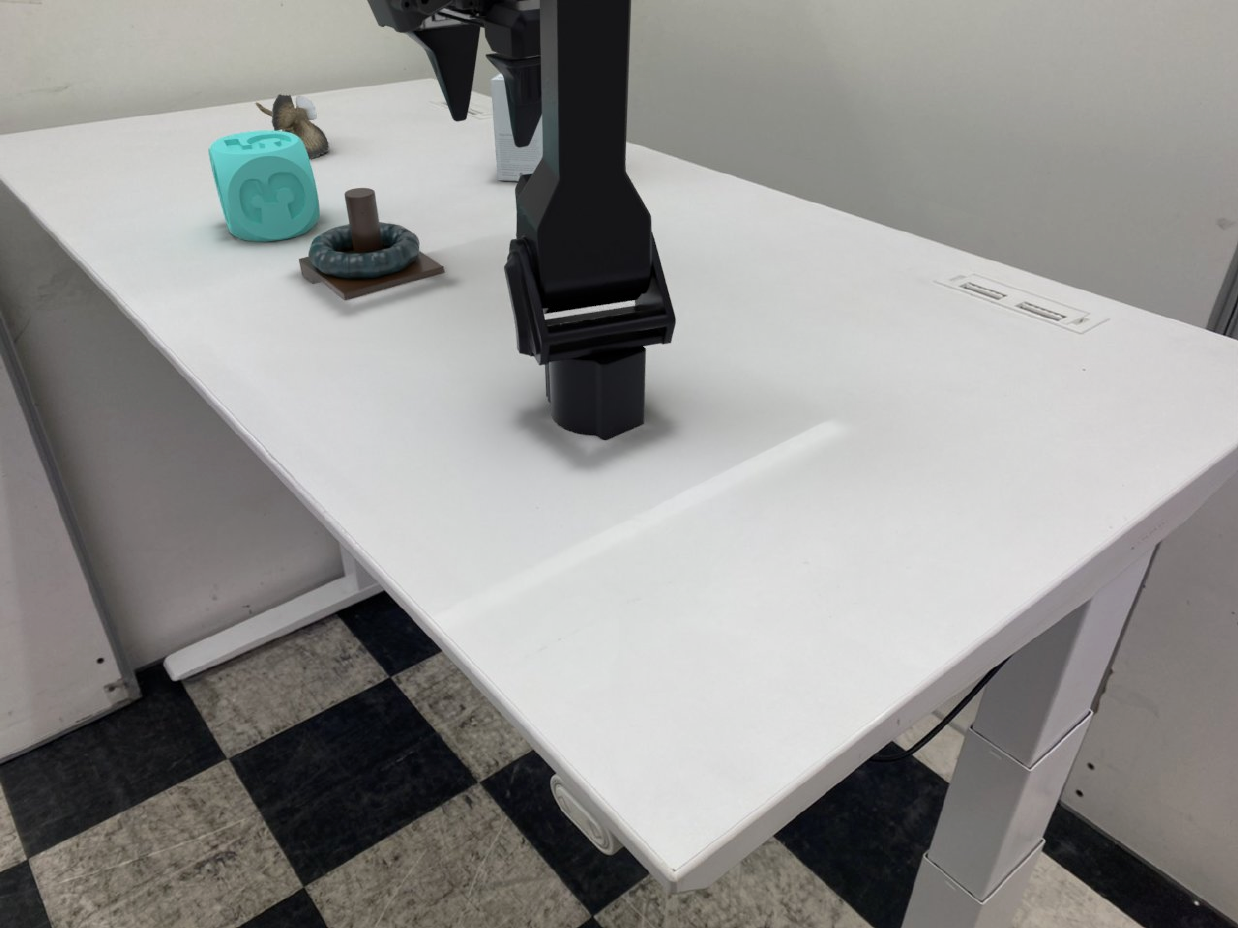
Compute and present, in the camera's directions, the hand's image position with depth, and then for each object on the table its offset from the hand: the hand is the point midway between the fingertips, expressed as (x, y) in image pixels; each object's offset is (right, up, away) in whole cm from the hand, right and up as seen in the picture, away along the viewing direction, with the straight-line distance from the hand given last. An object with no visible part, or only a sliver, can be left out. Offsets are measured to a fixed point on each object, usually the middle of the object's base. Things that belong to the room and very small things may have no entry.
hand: (489, 133), depth 73 cm
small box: (0, +6, +30) cm, 31 cm away
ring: (-11, -8, +5) cm, 15 cm away
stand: (-11, -10, +6) cm, 16 cm away
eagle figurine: (-28, +11, +37) cm, 48 cm away
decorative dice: (-23, -3, +16) cm, 28 cm away
